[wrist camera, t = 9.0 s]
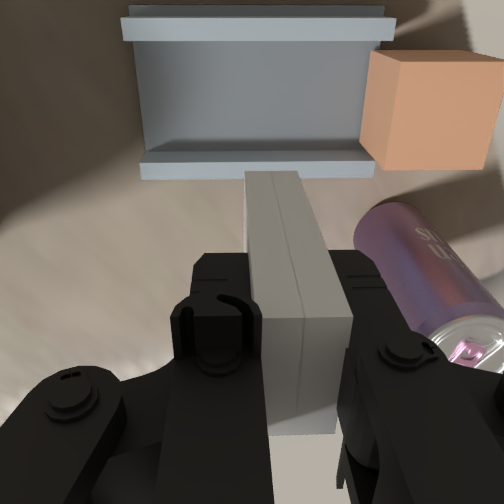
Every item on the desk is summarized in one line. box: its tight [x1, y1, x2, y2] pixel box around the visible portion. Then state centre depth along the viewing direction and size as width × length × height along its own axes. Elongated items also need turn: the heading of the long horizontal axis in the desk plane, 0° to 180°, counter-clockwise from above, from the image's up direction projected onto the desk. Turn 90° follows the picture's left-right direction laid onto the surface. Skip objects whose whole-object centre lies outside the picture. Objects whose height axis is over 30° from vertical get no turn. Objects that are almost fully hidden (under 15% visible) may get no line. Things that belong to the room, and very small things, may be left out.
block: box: [359, 50, 504, 170], centre depth 28 cm, size 6×6×6 cm
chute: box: [120, 5, 396, 180], centre depth 29 cm, size 16×11×4 cm
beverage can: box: [353, 202, 504, 374], centre depth 30 cm, size 6×6×15 cm
